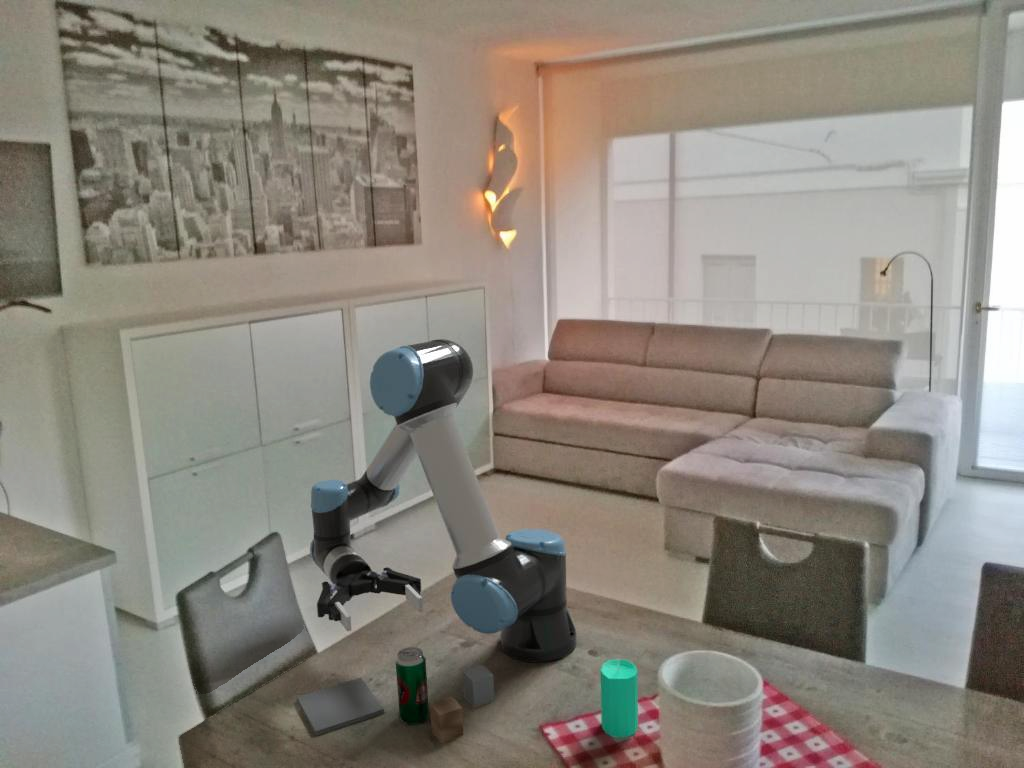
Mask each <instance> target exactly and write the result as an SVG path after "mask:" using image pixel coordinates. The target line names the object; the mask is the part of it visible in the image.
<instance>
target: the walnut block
mask: <svg viewBox="0 0 1024 768" xmlns="http://www.w3.org/2000/svg"><path fill="white" fill-rule="evenodd" d="M429 715H430V729H431V732H432V733H433V734H434V735H435V738H437V739H438V740H439V742H440V743H441V744H442V743H445V742H448V741H451V740H454V739H456V738H459V737H461V736H464V723H463V722H464V721H463V707H462V706H461V705H460V704H459V702H458V701H457V700H456V698H454V697H453V696H452V695H450V696H448V697H444V698H441V699H439V700H436V701H433V702H431V703H429Z"/></svg>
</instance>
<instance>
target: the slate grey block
mask: <svg viewBox="0 0 1024 768" xmlns="http://www.w3.org/2000/svg"><path fill="white" fill-rule="evenodd" d="M462 679H463V680H462V681H463V698H465V700H466V701H467V702H468V703H469V704H470V705H471V707H473V708H474V709H476V708H477V707H480V706H484V705H486V704H489V703H492V702H495V685H494V683H495V682H494V674H493V673H492V672H490V670H489V669H488V668H487V667H485V666H484V665H483V664H481V665H478V666H476V667H472V668H470V669H467V670H463V671H462Z"/></svg>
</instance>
